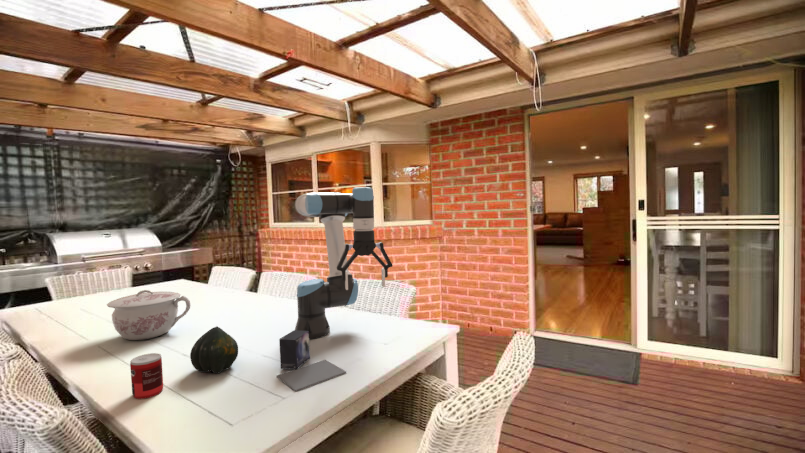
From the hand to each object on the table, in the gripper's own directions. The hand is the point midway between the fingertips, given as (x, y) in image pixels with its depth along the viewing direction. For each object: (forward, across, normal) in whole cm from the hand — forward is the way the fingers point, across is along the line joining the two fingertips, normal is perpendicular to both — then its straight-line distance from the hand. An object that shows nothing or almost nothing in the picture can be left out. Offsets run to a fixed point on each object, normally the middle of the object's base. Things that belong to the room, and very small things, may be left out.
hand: (365, 287), depth 136 cm
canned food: (+26, -69, -8) cm, 74 cm away
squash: (+26, -53, +4) cm, 59 cm away
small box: (+25, -25, -1) cm, 36 cm away
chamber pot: (+27, -92, +54) cm, 110 cm away
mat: (+25, -20, -11) cm, 34 cm away
